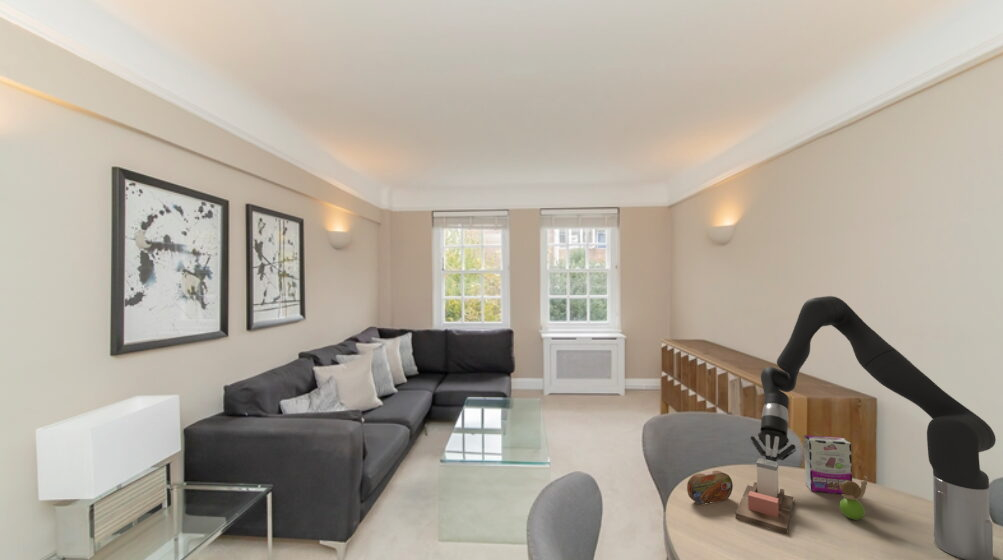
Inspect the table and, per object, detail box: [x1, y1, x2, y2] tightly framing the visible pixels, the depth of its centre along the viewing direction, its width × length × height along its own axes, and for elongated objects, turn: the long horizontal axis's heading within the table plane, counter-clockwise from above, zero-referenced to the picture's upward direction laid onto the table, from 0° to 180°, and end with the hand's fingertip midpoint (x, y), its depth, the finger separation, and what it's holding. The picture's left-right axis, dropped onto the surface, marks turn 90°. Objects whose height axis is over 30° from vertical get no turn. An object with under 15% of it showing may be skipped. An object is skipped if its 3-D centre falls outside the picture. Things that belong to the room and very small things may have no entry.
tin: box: [686, 470, 734, 506], centre depth 126 cm, size 15×3×8 cm, turn 105°
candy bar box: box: [803, 434, 853, 496], centre depth 131 cm, size 11×5×16 cm, turn 73°
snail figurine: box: [839, 475, 868, 521], centre depth 116 cm, size 5×6×12 cm
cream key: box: [756, 457, 780, 498], centre depth 125 cm, size 5×4×10 cm
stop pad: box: [748, 491, 779, 518], centre depth 118 cm, size 7×3×4 cm, turn 51°
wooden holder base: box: [735, 481, 794, 535], centre depth 121 cm, size 12×20×4 cm, turn 141°
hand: (770, 469), depth 131 cm, fingers closed
